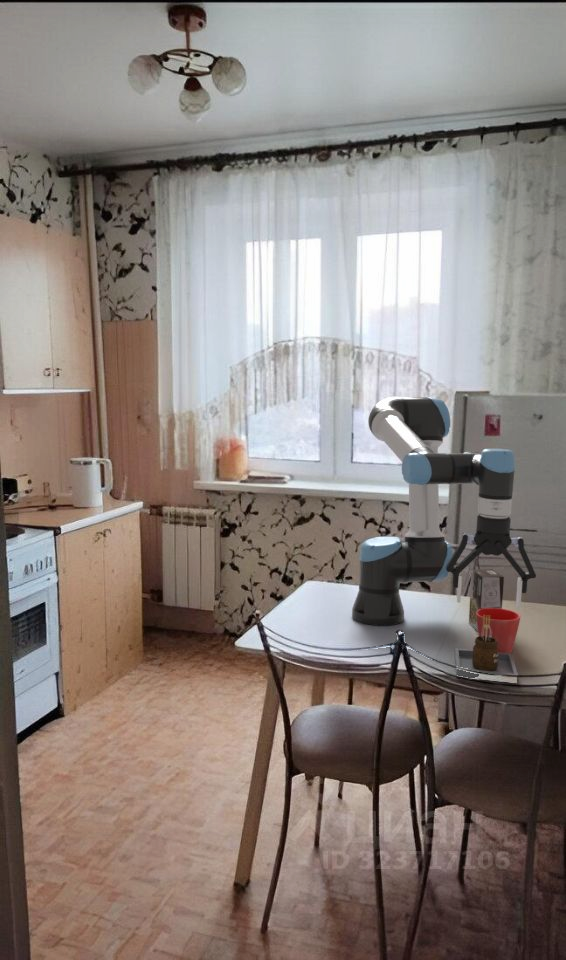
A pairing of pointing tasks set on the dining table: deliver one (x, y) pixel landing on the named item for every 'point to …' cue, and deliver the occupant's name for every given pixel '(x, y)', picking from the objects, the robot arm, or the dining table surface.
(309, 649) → the dining table surface
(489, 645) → the utensil holder
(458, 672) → the tray
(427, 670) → the dining table surface
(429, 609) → the dining table surface
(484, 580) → the coffee box
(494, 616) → the flower pot
